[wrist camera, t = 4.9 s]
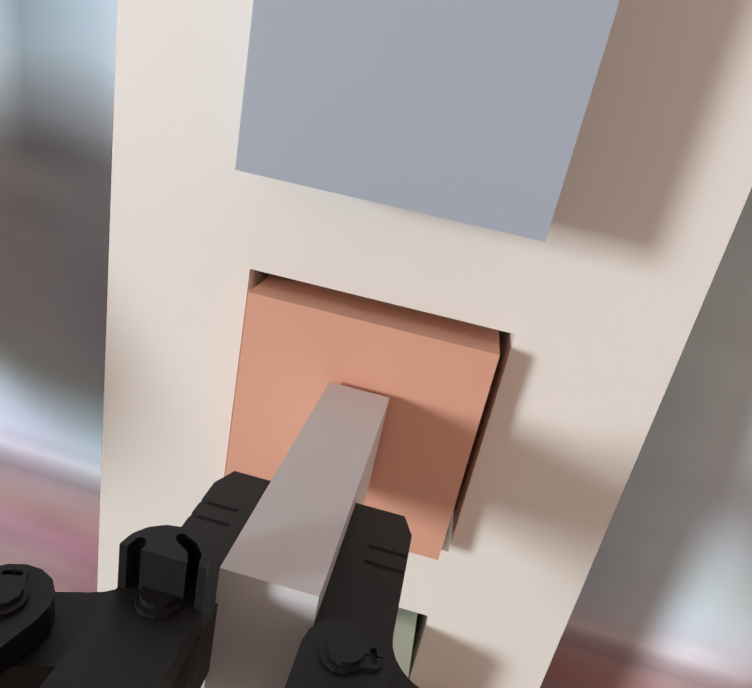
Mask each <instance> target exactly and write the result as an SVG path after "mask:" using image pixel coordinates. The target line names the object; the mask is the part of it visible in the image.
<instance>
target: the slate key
mask: <svg viewBox="0 0 752 688" xmlns="http://www.w3.org/2000/svg"><path fill="white" fill-rule="evenodd" d="M619 1H620V0H253V10H252V19H251V28H250V37H249V47H248V56H247V65H246V74H245V83H244V93H243V102H242V111H241V120H240V130H239V139H238V148H237V157H236V166H235V170H238V171H242V172H247V173H251V174H255V175H260V176H264V177H268V178H272V179H277V180H281V181H285V182H290V183H294V184H298V185H302V186H307V187H311V188H315V189H320V190H324V191H328V192H333V193H337V194H341V195H345V196H350V197H354V198H358V199H363V200H367V201H371V202H375V203H380V204H384V205H388V206H393V207H397V208H401V209H406V210H410V211H414V212H418V213H423V214H427V215H431V216H436V217H440V218H444V219H448V220H453V221H457V222H461V223H466V224H470V225H474V226H479V227H483V228H487V229H491V230H496V231H500V232H504V233H509V234H513V235H517V236H521V237H526V238H530V239H534V240H539V241H543V242H545V241H546V238H547V235H548V231H549V228H550V225H551V222H552V219H553V215H554V212H555V209H556V206H557V202H558V199H559V196H560V193H561V189H562V186H563V183H564V180H565V176H566V173H567V170H568V167H569V163H570V160H571V157H572V154H573V150H574V147H575V144H576V141H577V137H578V134H579V131H580V128H581V124H582V121H583V118H584V115H585V111H586V108H587V105H588V102H589V98H590V95H591V92H592V89H593V86H594V82H595V79H596V76H597V73H598V69H599V66H600V63H601V60H602V56H603V53H604V50H605V47H606V43H607V40H608V37H609V34H610V30H611V27H612V24H613V21H614V17H615V14H616V11H617V8H618V4H619Z"/></svg>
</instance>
